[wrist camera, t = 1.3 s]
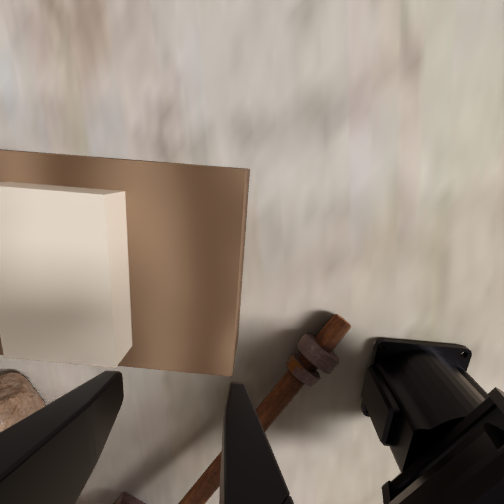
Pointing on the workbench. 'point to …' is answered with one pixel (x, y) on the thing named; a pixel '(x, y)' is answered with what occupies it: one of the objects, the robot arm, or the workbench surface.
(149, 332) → the plate
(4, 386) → the stone
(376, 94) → the workbench surface
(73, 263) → the cream rectangular block
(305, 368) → the hammer
